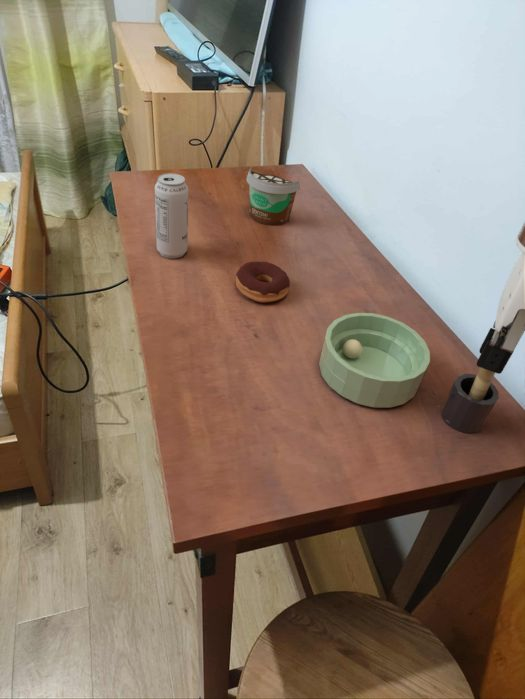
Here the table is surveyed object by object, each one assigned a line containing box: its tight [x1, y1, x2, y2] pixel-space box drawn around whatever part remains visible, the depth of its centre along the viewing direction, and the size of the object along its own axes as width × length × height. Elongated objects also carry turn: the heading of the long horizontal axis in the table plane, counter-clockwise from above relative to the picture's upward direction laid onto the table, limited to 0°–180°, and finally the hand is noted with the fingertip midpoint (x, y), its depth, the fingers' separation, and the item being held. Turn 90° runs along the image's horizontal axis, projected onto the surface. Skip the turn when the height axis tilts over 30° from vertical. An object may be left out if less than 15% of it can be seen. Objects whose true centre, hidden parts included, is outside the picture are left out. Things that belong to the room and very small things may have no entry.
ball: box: [343, 339, 362, 358], centre depth 81 cm, size 3×3×3 cm
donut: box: [235, 260, 291, 304], centre depth 93 cm, size 10×10×4 cm
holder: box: [440, 373, 500, 434], centre depth 73 cm, size 6×6×6 cm
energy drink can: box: [154, 172, 189, 259], centre depth 96 cm, size 6×6×15 cm
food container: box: [246, 166, 301, 226], centre depth 113 cm, size 12×6×10 cm, turn 68°
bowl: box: [318, 312, 431, 409], centre depth 78 cm, size 16×16×6 cm
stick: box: [468, 330, 506, 400], centre depth 69 cm, size 2×2×16 cm
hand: (489, 361), depth 68 cm, fingers closed
